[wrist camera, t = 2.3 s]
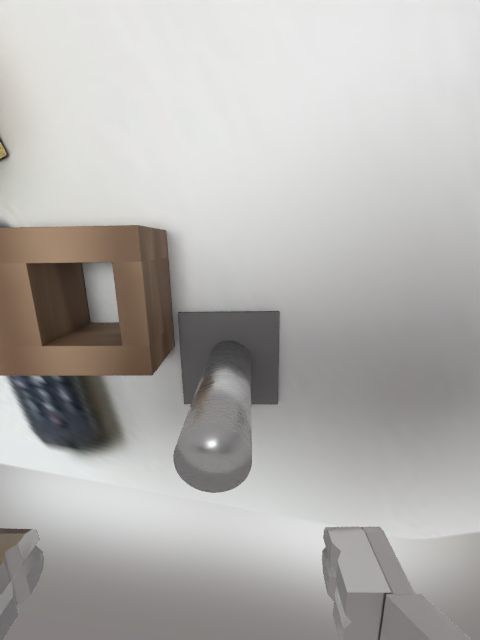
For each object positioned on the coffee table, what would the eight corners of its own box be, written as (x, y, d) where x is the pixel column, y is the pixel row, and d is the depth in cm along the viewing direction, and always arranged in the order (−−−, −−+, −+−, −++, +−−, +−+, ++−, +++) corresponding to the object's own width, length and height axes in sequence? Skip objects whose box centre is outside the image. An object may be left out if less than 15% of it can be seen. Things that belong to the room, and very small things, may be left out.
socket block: (166, 230, 19) (137, 225, 14) (174, 345, 21) (152, 375, 16) (-54, 234, 20) (-154, 230, 15) (-26, 346, 22) (-105, 375, 17)
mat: (278, 311, 20) (279, 312, 20) (277, 401, 22) (277, 404, 21) (179, 312, 20) (177, 313, 20) (185, 401, 22) (184, 404, 22)
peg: (250, 340, 20) (251, 426, 11) (250, 379, 21) (251, 493, 11) (207, 340, 20) (170, 426, 11) (209, 379, 21) (176, 492, 11)
